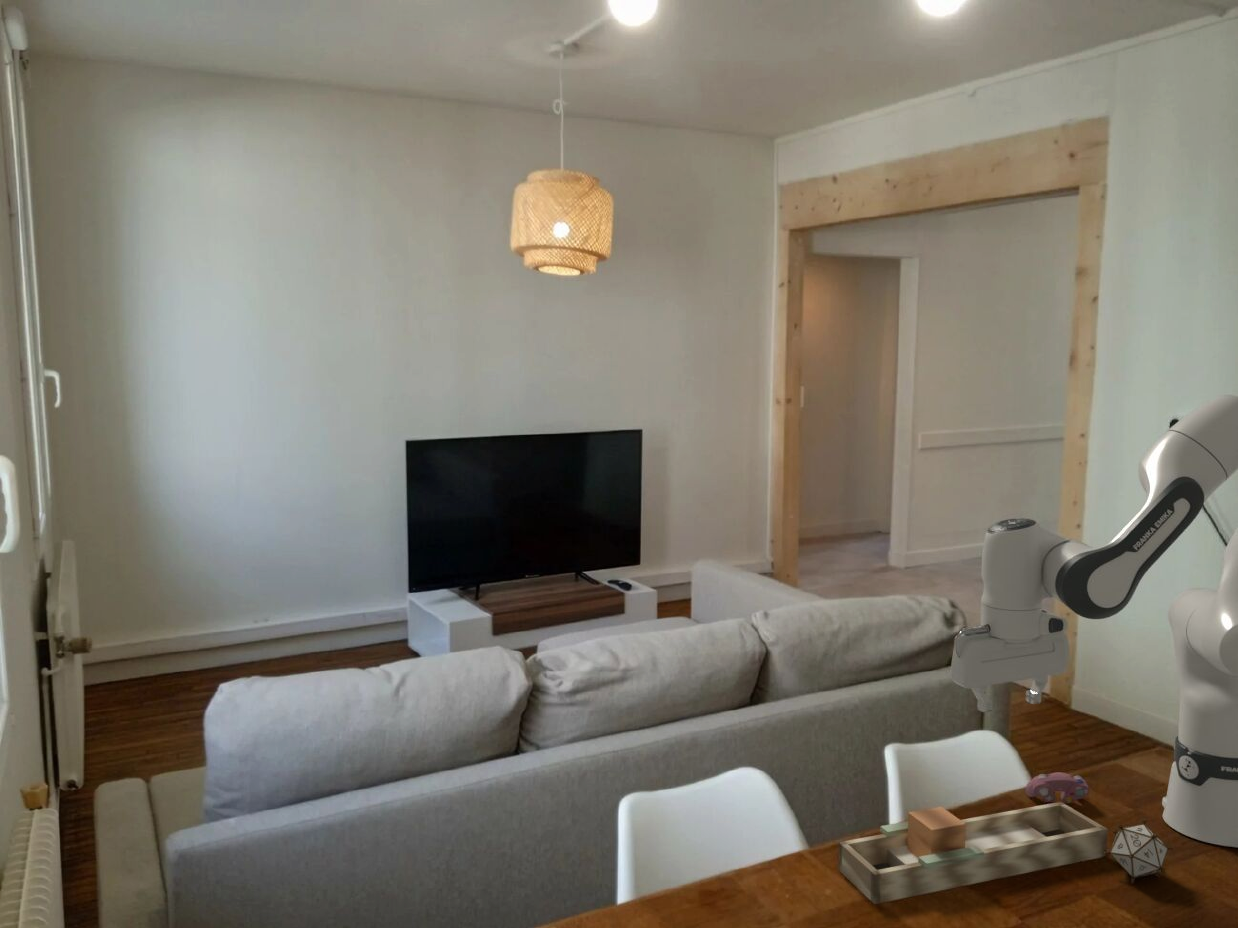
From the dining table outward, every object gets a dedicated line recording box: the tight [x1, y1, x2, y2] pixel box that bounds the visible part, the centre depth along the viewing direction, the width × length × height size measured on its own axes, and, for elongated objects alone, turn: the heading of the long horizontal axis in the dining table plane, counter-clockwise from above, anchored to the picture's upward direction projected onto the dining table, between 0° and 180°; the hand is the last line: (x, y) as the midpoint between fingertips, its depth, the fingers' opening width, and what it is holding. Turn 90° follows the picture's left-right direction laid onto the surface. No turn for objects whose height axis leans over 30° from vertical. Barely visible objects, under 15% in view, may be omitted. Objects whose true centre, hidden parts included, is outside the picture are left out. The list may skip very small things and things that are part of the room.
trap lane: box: [837, 801, 1109, 905], centre depth 151 cm, size 42×12×5 cm, turn 108°
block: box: [907, 806, 966, 857], centre depth 148 cm, size 6×6×6 cm
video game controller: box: [1025, 771, 1091, 805], centre depth 171 cm, size 10×5×7 cm, turn 83°
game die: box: [1103, 818, 1175, 884], centre depth 147 cm, size 9×8×10 cm
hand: (1009, 706), depth 154 cm, fingers open, 8 cm apart
